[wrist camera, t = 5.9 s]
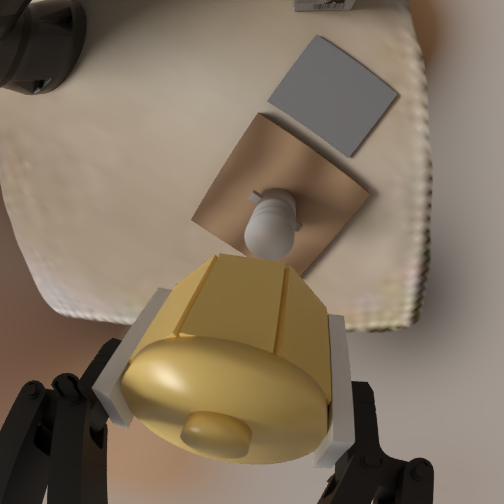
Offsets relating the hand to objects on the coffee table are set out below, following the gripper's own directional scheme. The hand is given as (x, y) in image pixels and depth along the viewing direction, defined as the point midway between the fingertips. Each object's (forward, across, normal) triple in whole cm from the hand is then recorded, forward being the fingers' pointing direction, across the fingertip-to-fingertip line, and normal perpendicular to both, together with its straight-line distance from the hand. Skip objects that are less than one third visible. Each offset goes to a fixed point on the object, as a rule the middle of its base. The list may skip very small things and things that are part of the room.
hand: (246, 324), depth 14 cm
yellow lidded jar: (0, 0, 0) cm, 0 cm away
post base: (+20, 0, 0) cm, 20 cm away
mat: (+20, +4, +12) cm, 24 cm away
